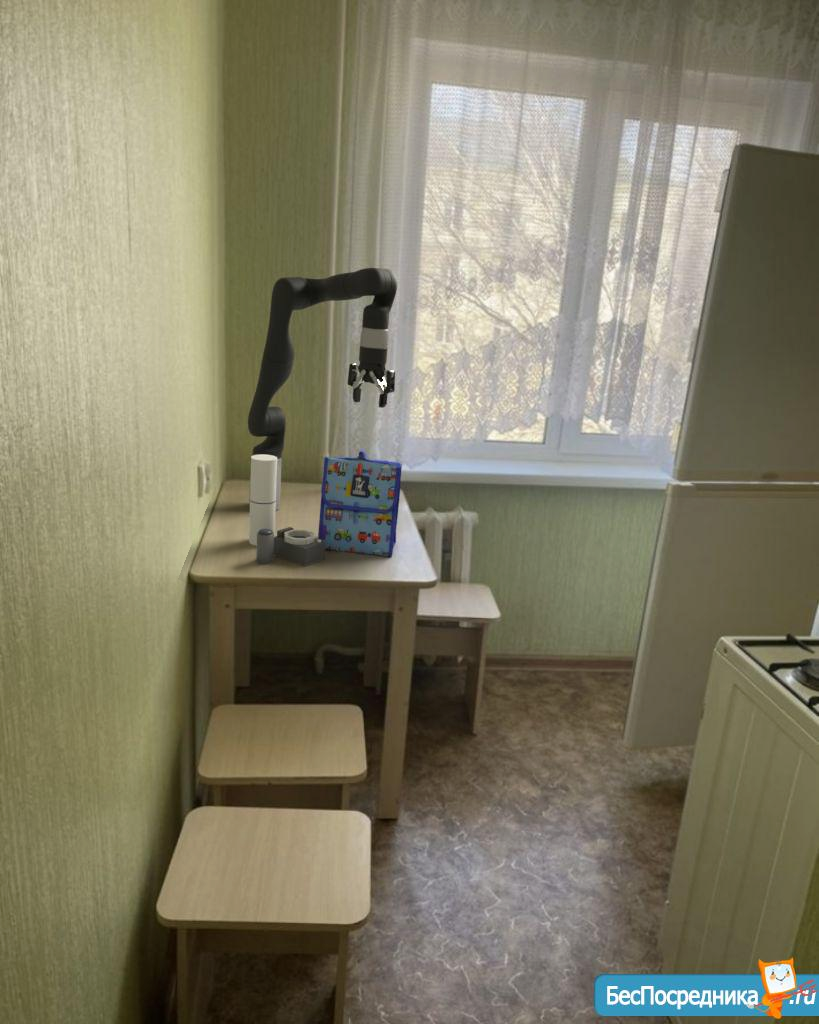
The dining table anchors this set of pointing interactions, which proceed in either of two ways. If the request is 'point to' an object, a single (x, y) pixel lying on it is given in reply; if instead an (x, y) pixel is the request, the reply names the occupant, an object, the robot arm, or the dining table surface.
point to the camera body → (298, 546)
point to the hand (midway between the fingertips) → (369, 404)
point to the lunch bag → (359, 504)
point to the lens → (265, 546)
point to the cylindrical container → (262, 494)
